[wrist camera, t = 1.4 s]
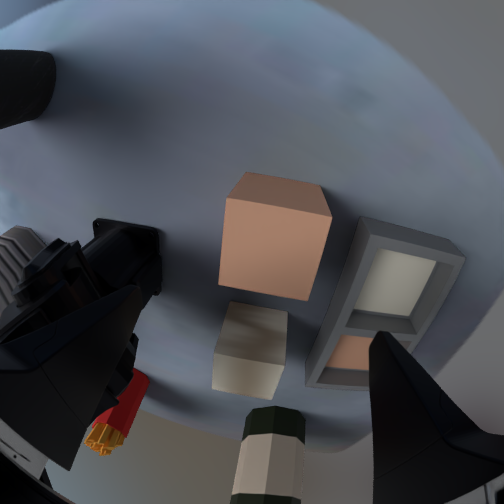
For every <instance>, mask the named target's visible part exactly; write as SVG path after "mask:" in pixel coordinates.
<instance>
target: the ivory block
mask: <svg viewBox="0 0 504 504" xmlns="http://www.w3.org/2000/svg"><path fill="white" fill-rule="evenodd" d="M287 318H288V312H287V311H282V310H276V309H270V308H265V307H259V306H254V305H249V304H243V303H238V302H233V301H230V303H229V306H228V309H227V312H226V315H225V319H224V322H223V325H222V328H221V332H220V335H219V338H218V341H217V344H216V348H215V351H214V359H213V376H212V389H215V390H219V391H224V392H229V393H234V394H239V395H244V396H250V397H256V398H262V399H269V400H272V397H273V395H274V392H275V390H276V388H277V385H278V383H279V380H280V377H281V375H282V372H283V370H284V367H285V357H286V339H287Z"/></svg>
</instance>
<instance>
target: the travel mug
mask: <svg viewBox="0 0 504 504" xmlns="http://www.w3.org/2000/svg"><path fill="white" fill-rule="evenodd" d="M55 79H56V67H55V62H54V59H53V57H52V56H51V55H50V54H49V53H47V52H43V51H33V50H0V129H3V128H6V127H9V126H13V125H16V124H20V123H23V122H26V121H30V120H33V119H35V118H37V117H38V116H39V115H40V114H41V113H42V112H43V111H44V110H45V108H46V107H47V105H48V103H49V101H50V99H51V96H52V93H53V90H54V86H55Z"/></svg>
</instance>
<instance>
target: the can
mask: <svg viewBox="0 0 504 504" xmlns="http://www.w3.org/2000/svg"><path fill="white" fill-rule="evenodd" d="M45 247H46V245H45V244H44V243H43V242H42V240H41V239H40V238H39V237H38V236H37V235H36V234H35V233H34V232H33V231H32V229H31V228H27V227H21V226H14V227H13V228H11V229H10V230H8V231H7V232H5V233H4V234H2V235H1V236H0V317H1V313H2V311H3V310H4V309H5V308H6V307H7V306H8V305H9V304H10V303H11V302H13V301H14V299H13V298H12V296H11V293H12V291H13V290H14V288H15V287H16V285H17V284H18V282H19V280H20V279H21V276H22V270H23V268H24V267H25V266H26V265H27V264H28V262H29V261H30V260H31V259H32V258H33V257H34V256H35V255H36V254H37V253H39V252H40V251H41V250H42V249H44V248H45Z"/></svg>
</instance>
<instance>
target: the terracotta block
mask: <svg viewBox="0 0 504 504" xmlns="http://www.w3.org/2000/svg"><path fill="white" fill-rule="evenodd" d="M331 221H332V215H331V212H330V210H329V207H328V205H327V202H326V199H325V197H324V194H323V192H322V189H321V187H320V185H315V184H310V183H305V182H300V181H295V180H290V179H285V178H279V177H273V176H268V175H262V174H256V173H249V172H246V173H245V174H244V175H243V177H242V178H241V179H240V181H239V182H238V183H237V185H236V186H235V187H234V189H233V190H232V191H231V193H230V194H229V195H228V197H227V199H226V209H225V218H224V228H223V238H222V249H221V260H220V271H219V283H218V285H223V286H228V287H233V288H238V289H243V290H248V291H254V292H259V293H264V294H270V295H275V296H281V297H287V298H292V299H298V300H304V301H308V298H309V295H310V292H311V289H312V286H313V283H314V279H315V276H316V273H317V270H318V266H319V263H320V260H321V256H322V253H323V249H324V246H325V242H326V239H327V235H328V232H329V228H330V224H331Z"/></svg>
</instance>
